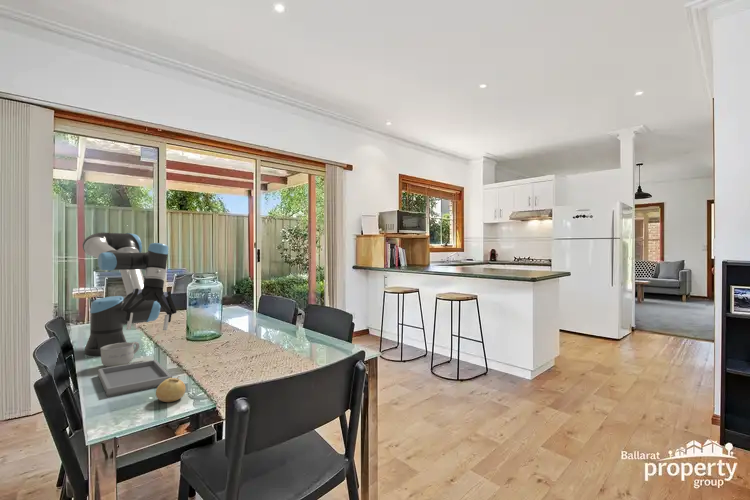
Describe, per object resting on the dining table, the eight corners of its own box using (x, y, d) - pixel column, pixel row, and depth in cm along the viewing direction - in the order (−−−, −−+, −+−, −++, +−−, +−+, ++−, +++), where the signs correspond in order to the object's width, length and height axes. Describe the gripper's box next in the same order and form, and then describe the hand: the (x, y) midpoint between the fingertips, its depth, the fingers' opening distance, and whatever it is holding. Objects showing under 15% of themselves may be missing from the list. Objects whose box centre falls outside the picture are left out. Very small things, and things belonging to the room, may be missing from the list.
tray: (98, 375, 132) (98, 368, 132) (155, 366, 145) (155, 359, 145) (107, 396, 115) (107, 388, 115) (172, 383, 127) (172, 376, 127)
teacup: (107, 372, 137) (108, 350, 137) (94, 366, 142) (95, 345, 142) (147, 362, 148) (147, 342, 148) (133, 357, 154) (134, 338, 154)
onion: (154, 407, 108) (155, 383, 108) (156, 397, 116) (156, 374, 115) (185, 402, 112) (186, 379, 112) (185, 393, 119) (185, 371, 119)
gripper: (123, 273, 147) (114, 328, 142) (188, 281, 165) (182, 330, 160) (117, 276, 152) (108, 329, 147) (181, 283, 170) (175, 330, 165)
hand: (147, 329), depth 153 cm, fingers open, 13 cm apart
